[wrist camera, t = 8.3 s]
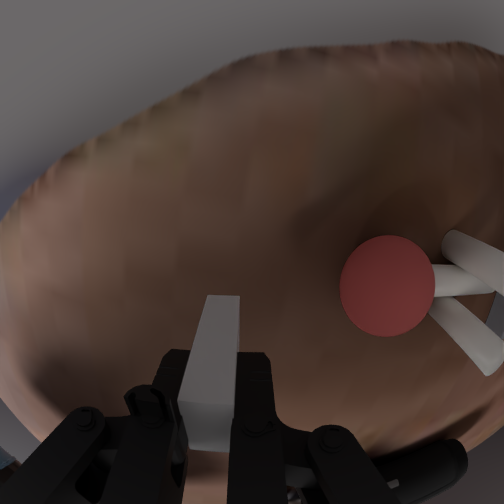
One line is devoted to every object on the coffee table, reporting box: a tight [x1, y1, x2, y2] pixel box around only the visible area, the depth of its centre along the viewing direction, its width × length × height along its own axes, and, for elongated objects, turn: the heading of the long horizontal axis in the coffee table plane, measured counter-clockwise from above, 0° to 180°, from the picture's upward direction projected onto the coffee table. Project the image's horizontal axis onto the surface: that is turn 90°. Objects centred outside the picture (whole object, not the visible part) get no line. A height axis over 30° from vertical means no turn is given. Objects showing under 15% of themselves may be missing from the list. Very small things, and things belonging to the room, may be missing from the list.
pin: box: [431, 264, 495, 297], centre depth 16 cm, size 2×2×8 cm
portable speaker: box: [301, 439, 468, 504], centre depth 23 cm, size 26×10×10 cm, turn 103°
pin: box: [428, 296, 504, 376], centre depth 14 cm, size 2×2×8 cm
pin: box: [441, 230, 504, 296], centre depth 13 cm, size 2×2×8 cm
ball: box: [339, 235, 435, 337], centre depth 14 cm, size 6×6×6 cm
